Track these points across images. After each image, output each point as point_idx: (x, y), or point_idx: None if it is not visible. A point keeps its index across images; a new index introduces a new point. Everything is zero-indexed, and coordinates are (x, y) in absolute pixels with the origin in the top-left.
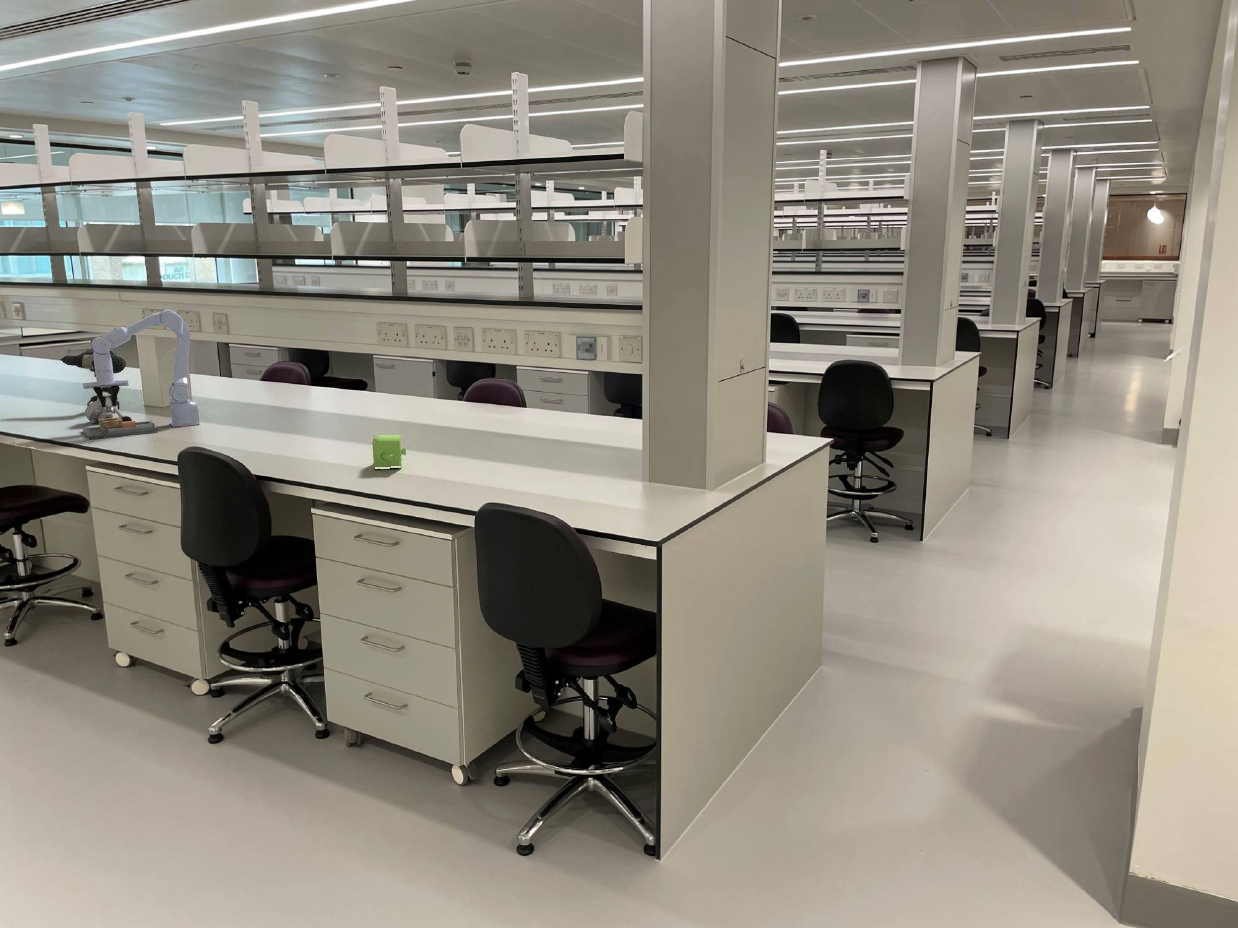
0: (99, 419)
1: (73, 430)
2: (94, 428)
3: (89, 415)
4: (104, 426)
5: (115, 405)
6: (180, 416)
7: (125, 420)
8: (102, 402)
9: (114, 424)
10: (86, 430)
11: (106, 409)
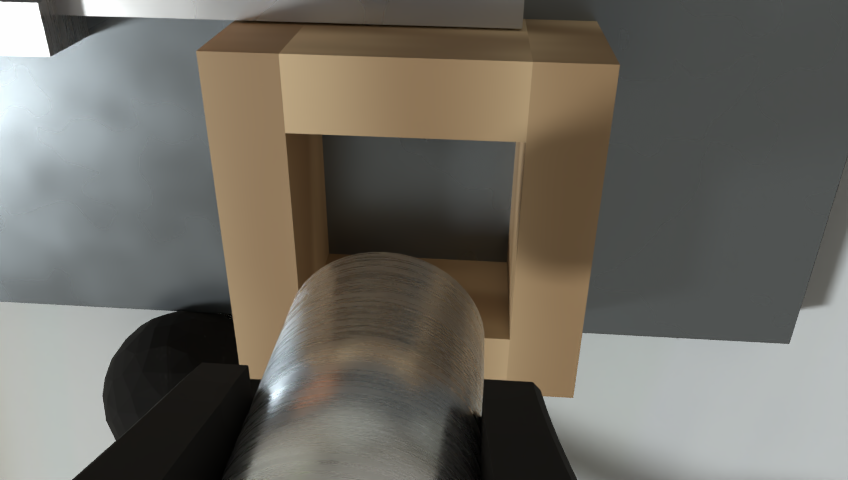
0: (566, 364)
1: (828, 446)
2: (654, 242)
3: None
4: (555, 39)
5: (187, 377)
6: None
7: (184, 351)
8: (542, 476)
9: (373, 36)
10: (811, 149)
11: (449, 326)
